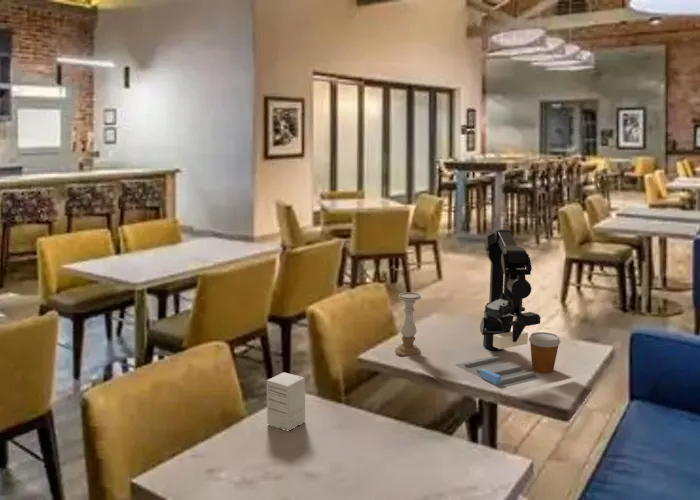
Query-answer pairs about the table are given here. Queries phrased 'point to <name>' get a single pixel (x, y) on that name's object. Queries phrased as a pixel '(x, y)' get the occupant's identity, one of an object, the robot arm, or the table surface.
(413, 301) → the candle holder
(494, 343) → the cream rectangular block
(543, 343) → the disposable coffee cup
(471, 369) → the duct tray
